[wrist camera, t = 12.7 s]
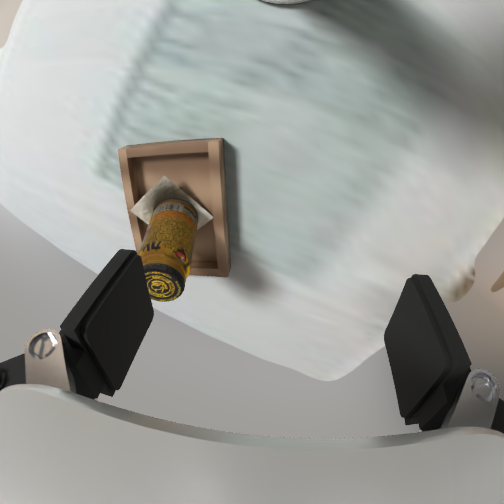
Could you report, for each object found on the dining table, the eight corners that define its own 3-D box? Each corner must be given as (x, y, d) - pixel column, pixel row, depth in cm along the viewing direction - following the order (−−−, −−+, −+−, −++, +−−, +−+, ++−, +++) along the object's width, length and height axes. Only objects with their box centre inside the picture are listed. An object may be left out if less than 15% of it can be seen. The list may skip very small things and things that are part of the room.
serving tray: (127, 145, 34) (117, 149, 32) (222, 138, 33) (218, 141, 31) (148, 262, 43) (141, 271, 41) (230, 267, 42) (227, 277, 40)
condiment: (177, 245, 40) (164, 315, 32) (130, 209, 36) (101, 276, 27) (214, 216, 38) (208, 287, 29) (164, 174, 33) (139, 237, 24)
